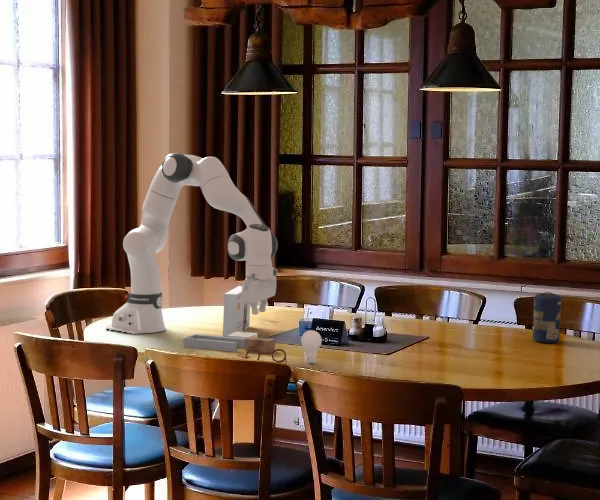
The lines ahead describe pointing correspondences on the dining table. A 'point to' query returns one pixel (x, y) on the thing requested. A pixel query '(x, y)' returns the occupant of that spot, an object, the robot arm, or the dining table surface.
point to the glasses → (268, 353)
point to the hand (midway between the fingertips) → (258, 313)
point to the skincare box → (235, 312)
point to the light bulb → (311, 344)
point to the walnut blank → (260, 344)
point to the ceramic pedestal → (242, 335)
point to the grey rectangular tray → (214, 342)
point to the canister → (546, 317)
